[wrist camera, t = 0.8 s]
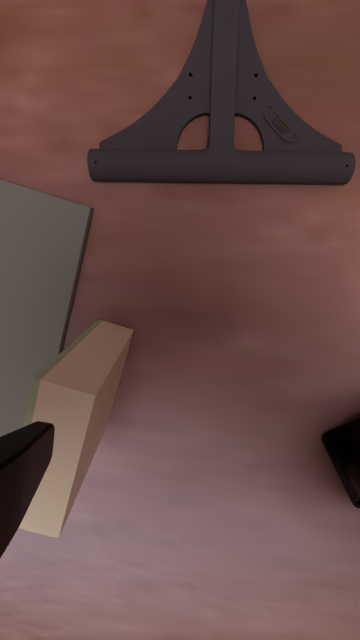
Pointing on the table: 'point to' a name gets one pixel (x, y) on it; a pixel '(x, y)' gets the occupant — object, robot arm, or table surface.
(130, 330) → the tile
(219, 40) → the bracket
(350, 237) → the table surface
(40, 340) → the mat
